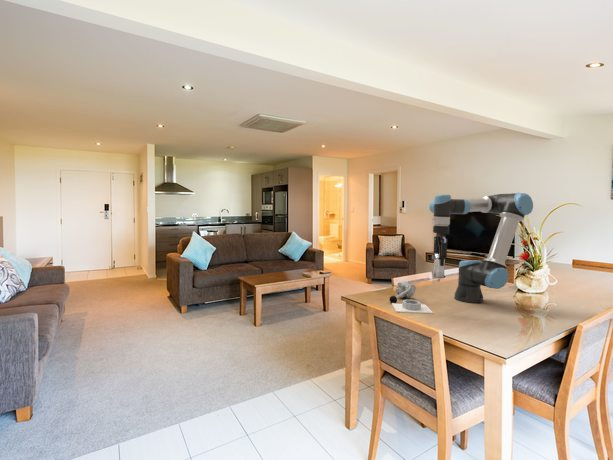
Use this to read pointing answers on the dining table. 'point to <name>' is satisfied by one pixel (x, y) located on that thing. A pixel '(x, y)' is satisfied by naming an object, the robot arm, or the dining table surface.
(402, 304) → the duct panel
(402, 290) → the valve
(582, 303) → the dining table surface
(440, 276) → the grey upright cylinder
